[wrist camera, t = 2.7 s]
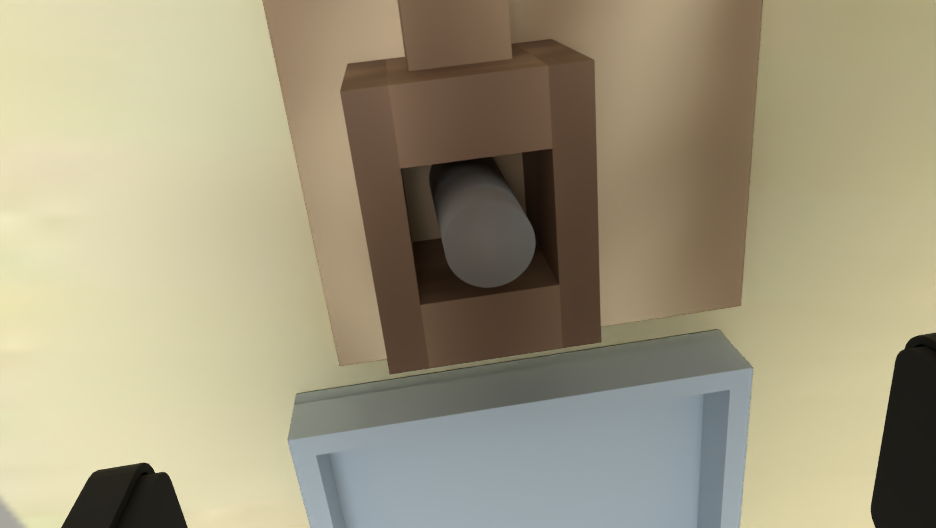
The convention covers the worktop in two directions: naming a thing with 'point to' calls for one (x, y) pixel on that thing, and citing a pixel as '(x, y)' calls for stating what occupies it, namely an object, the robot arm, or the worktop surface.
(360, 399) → the tray
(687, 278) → the stake board
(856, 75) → the worktop surface
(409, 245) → the collar
